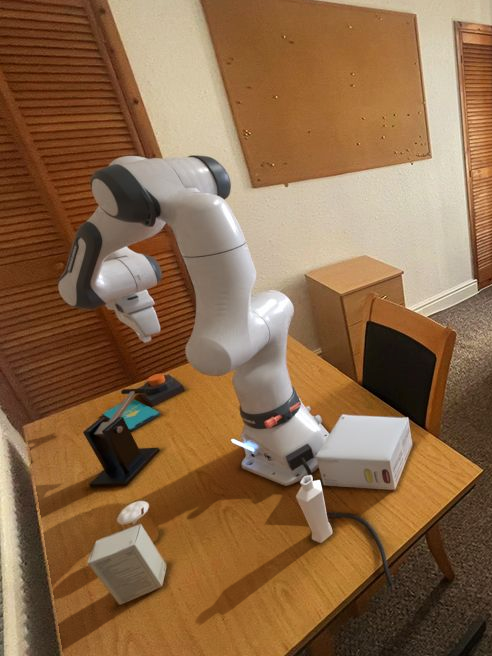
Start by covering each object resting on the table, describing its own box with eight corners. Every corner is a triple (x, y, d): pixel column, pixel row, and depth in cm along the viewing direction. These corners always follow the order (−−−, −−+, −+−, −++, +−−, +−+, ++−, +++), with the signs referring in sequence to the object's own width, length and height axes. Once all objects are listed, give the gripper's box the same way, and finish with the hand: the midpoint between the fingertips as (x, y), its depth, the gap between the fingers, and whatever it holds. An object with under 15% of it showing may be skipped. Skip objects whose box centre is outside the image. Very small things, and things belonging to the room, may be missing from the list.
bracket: (127, 452, 100) (104, 409, 95) (160, 450, 101) (139, 407, 95) (90, 488, 91) (63, 442, 86) (127, 486, 92) (101, 440, 86)
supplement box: (322, 487, 91) (313, 456, 87) (348, 441, 103) (341, 413, 99) (395, 491, 89) (389, 460, 86) (413, 444, 101) (408, 415, 98)
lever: (127, 392, 100) (121, 386, 98) (150, 391, 100) (144, 385, 98) (93, 439, 91) (85, 434, 89) (118, 438, 91) (111, 433, 89)
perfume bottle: (327, 517, 84) (312, 465, 78) (338, 530, 81) (323, 477, 75) (305, 534, 81) (288, 481, 75) (316, 548, 78) (299, 494, 72)
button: (167, 381, 120) (165, 375, 119) (153, 388, 117) (150, 382, 117) (162, 377, 122) (160, 372, 121) (148, 384, 119) (145, 378, 118)
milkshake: (149, 554, 77) (129, 519, 74) (127, 549, 78) (106, 514, 75) (172, 531, 82) (154, 497, 78) (151, 526, 83) (132, 492, 79)
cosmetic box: (167, 565, 76) (143, 521, 71) (162, 588, 72) (136, 544, 67) (124, 582, 73) (96, 539, 68) (116, 607, 69) (86, 563, 65)
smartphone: (132, 397, 118) (160, 412, 112) (133, 399, 118) (161, 414, 112) (100, 413, 112) (129, 430, 106) (102, 416, 112) (130, 432, 106)
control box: (185, 390, 122) (180, 380, 120) (152, 406, 116) (147, 395, 114) (171, 379, 127) (166, 369, 125) (139, 394, 121) (134, 383, 119)
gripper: (98, 293, 111) (118, 336, 117) (125, 310, 101) (146, 356, 107) (127, 284, 116) (145, 326, 122) (155, 300, 106) (174, 344, 112)
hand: (146, 340), depth 114 cm, fingers closed
